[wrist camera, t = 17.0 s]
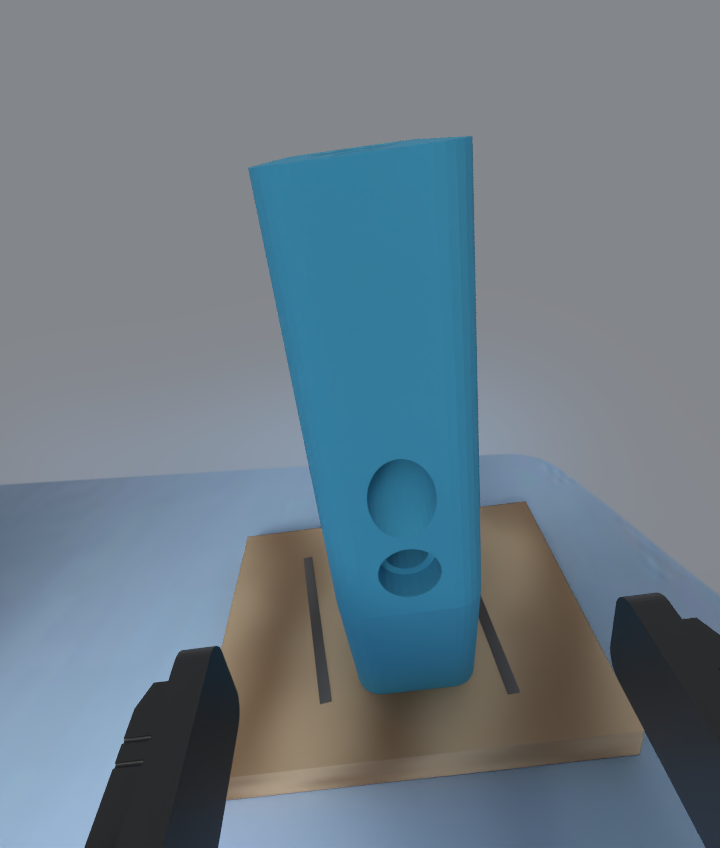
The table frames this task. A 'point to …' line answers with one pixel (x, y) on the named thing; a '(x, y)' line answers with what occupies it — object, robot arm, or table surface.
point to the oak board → (423, 709)
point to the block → (386, 391)
